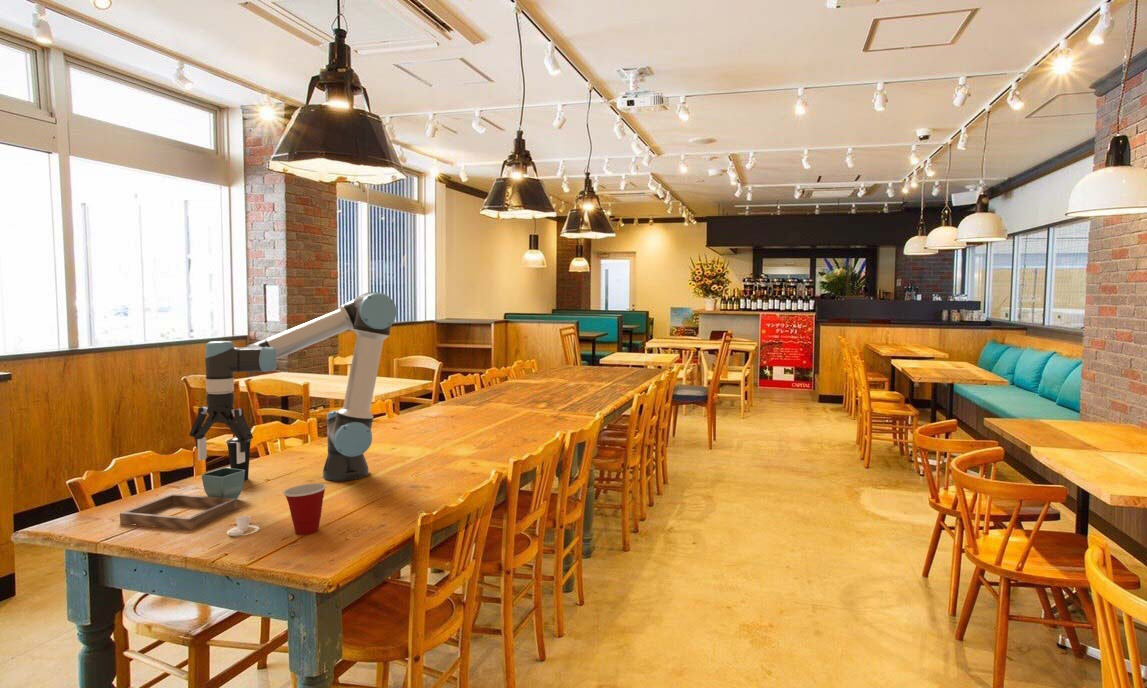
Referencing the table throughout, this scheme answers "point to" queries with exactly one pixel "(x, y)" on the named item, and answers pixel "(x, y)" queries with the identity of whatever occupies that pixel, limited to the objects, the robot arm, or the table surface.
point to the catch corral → (144, 516)
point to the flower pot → (224, 483)
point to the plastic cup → (306, 506)
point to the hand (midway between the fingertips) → (221, 461)
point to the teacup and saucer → (242, 526)
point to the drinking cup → (233, 456)
